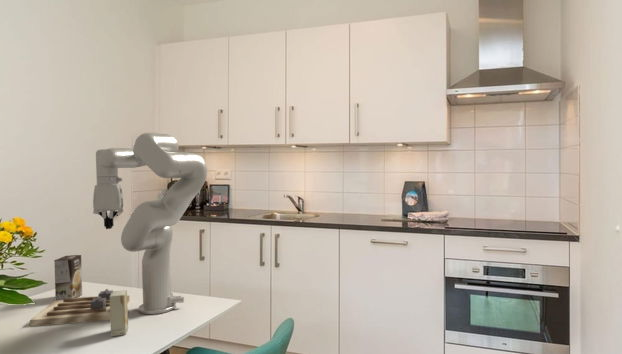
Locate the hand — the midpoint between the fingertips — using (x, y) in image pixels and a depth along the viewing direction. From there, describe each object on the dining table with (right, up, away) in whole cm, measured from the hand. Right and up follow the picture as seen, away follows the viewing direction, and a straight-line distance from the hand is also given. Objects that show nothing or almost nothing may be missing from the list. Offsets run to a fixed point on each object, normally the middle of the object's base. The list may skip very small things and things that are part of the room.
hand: (109, 228), depth 167 cm
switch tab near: (+5, -25, -19) cm, 32 cm away
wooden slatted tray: (-1, -28, -16) cm, 32 cm away
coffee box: (-16, -28, +1) cm, 32 cm away
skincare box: (+19, -28, -34) cm, 48 cm away
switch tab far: (+3, -25, -10) cm, 27 cm away
